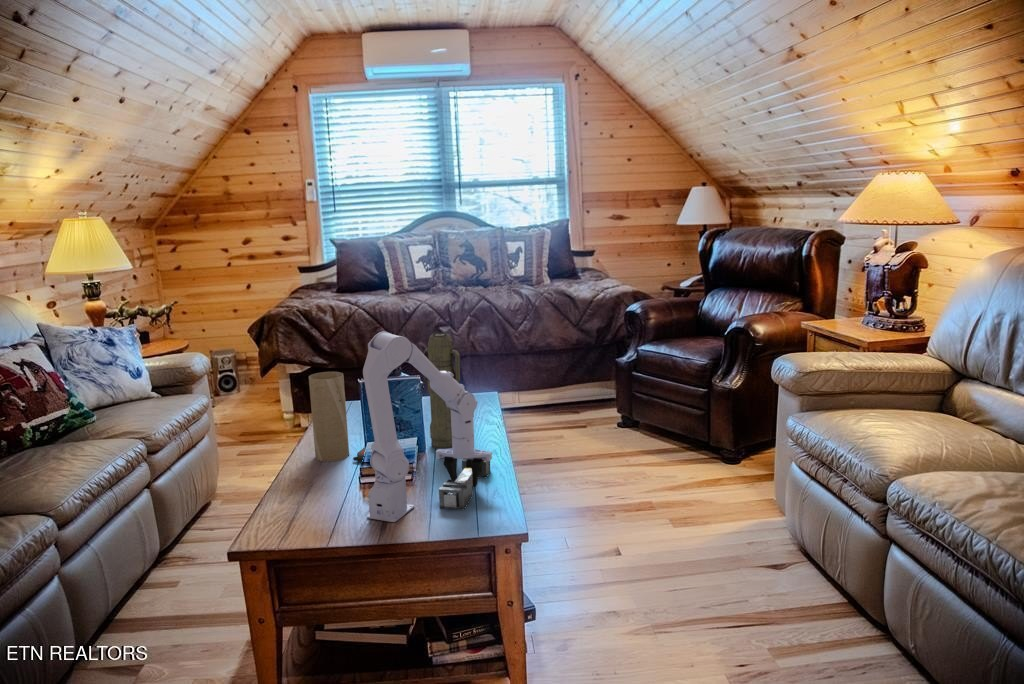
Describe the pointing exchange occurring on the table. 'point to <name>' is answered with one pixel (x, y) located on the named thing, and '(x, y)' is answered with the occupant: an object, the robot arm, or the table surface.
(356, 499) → the table surface
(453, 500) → the rod
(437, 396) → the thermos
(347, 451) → the tube
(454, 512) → the table surface
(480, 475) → the socket
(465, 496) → the sleeve
